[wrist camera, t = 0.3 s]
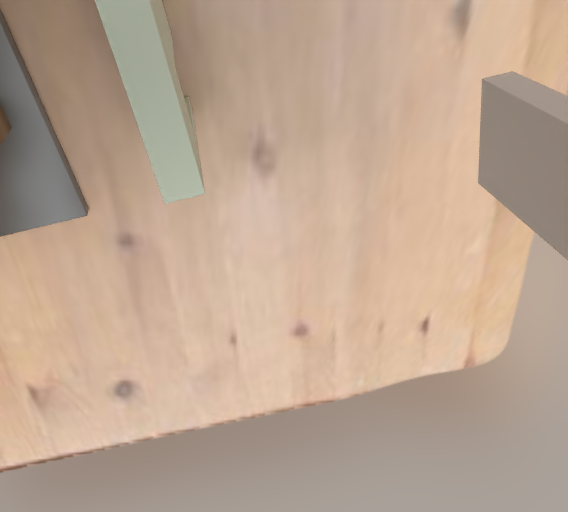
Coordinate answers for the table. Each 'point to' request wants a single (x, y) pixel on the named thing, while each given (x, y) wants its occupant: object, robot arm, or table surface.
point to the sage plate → (155, 93)
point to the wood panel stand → (30, 153)
